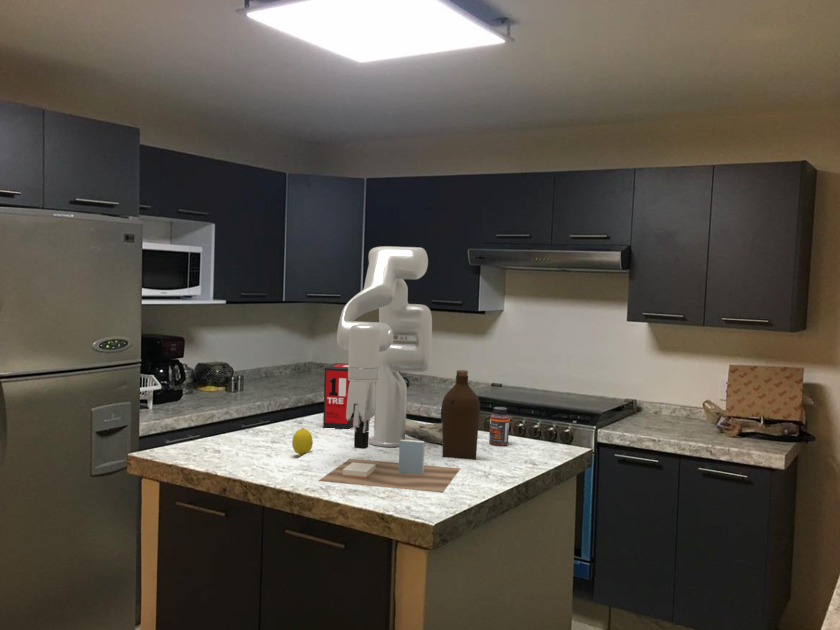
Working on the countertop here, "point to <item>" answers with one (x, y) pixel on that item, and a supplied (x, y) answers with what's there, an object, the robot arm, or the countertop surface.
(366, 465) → the tile
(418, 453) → the tile
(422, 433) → the long grey stone
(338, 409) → the cleaning product box
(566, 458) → the countertop surface
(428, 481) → the board
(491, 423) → the supplement bottle
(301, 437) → the lemon
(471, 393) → the olive oil
